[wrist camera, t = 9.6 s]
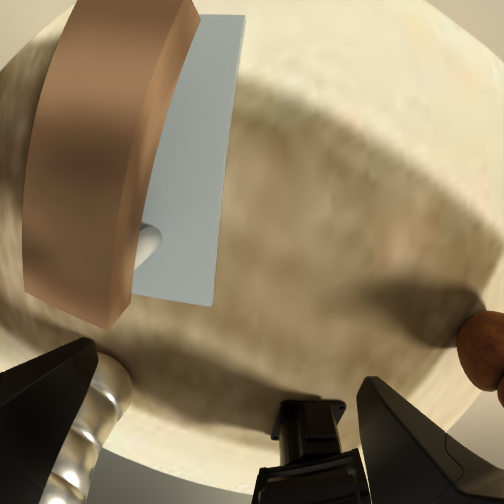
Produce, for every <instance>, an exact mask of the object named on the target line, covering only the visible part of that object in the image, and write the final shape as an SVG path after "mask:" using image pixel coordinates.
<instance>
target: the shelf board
mask: <svg viewBox="0 0 504 504" xmlns="http://www.w3.org/2000/svg"><path fill="white" fill-rule="evenodd" d="M200 22H201V18H200V16H199V14H198V12H197V10H196V8H195V6H194V4H193V2H192V0H77V2H76V4H75V6H74V8H73V10H72V12H71V14H70V16H69V19H68V21H67V23H66V25H65V27H64V30H63V32H62V34H61V37H60V39H59V42H58V44H57V47H56V49H55V52H54V55H53V57H52V60H51V63H50V66H49V69H48V72H47V75H46V78H45V81H44V85H43V88H42V92H41V95H40V99H39V103H38V107H37V111H36V115H35V119H34V124H33V129H32V134H31V139H30V145H29V151H28V158H27V165H26V173H25V183H24V195H23V212H22V259H23V276H24V288H25V292H27V293H29V294H30V295H32V296H34V297H36V298H38V299H40V300H42V301H44V302H46V303H48V304H50V305H52V306H54V307H56V308H58V309H60V310H62V311H64V312H66V313H68V314H71V315H73V316H75V317H77V318H79V319H82V320H84V321H86V322H88V323H91V324H93V325H95V326H98V327H100V328H102V329H105V330H107V331H108V330H109V329H110V328H111V327H112V325H113V324H114V323H115V322H116V320H117V319H118V318H119V317H120V315H121V314H122V313H123V312H124V310H125V309H126V308H127V307H128V305H129V304H130V301H131V291H132V282H133V274H134V266H135V259H136V252H137V246H138V239H139V233H140V227H141V222H142V216H143V211H144V206H145V201H146V196H147V191H148V186H149V182H150V177H151V173H152V169H153V165H154V160H155V156H156V152H157V148H158V145H159V141H160V137H161V133H162V130H163V126H164V123H165V119H166V116H167V113H168V109H169V106H170V103H171V100H172V97H173V93H174V90H175V87H176V84H177V81H178V78H179V76H180V73H181V70H182V67H183V64H184V62H185V59H186V56H187V54H188V51H189V48H190V46H191V43H192V41H193V38H194V36H195V33H196V31H197V29H198V26H199V24H200Z"/></svg>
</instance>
